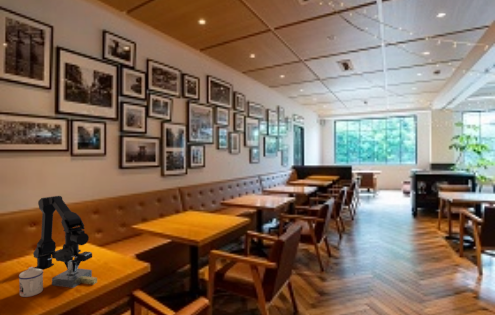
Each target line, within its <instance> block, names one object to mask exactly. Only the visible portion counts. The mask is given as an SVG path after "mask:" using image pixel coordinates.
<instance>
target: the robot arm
mask: <svg viewBox="0 0 495 315" xmlns="http://www.w3.org/2000/svg"><path fill="white" fill-rule="evenodd" d="M37 204H38V209H39V210H40V212H41V213H42V214H41V215H42V217H41V232H40V233H41V236H40V239H39V240H38V242H37V243H36V248H35V249H34V251H33V254H32V255H33V257H34V258H35V259H36V261H37V262H36V264H37V265H36V266H34V268H35V269H42V270H45V269H46V270H47V269H48V268H50V267H52V266H54V265H55V263H53V260H54V259H55V261H56V262H61V263H62V262H63V263H64V264H65V267H66V270H68V262H69V261H71V260H72V261H71V262H72V263H73V271H74V273H75V272H76V271H77V269H79V267H80V264H81V263H82V262H86V261H88V260H89V259H90V260H91V258H93V253H92V252H91V251H83V252H82V249H80V246H84V245H86V244H87V243H88V242H89V240H90V239H89V238H90V236H89V235H88V234H87V233H85V223H84V221H83V220H82V218H81V217H80V216H79V214H78V213H77V212H73V211H72V210H71V208H69V206H68V205H67V204H66V202H65V201H64V200H63V196H61V195H54V196H46V197H41V198H40V199H39V200H38V203H37ZM55 212H56V213H58V215H59V216H60V218H61V222H60V223H61V226H62V227H63V232H64V241H65V242H64V243H63V245H62V247H61V248H59V249H58V250H56V249H57V248H56V247H57V245H56V244H57V243H56V242H55V240H54V239H53V223H54V222H53V221H54V213H55Z"/></svg>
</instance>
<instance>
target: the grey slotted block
mask: <svg viewBox="0 0 495 315" xmlns="http://www.w3.org/2000/svg"><path fill="white" fill-rule="evenodd" d="M92 272H93V270H92V269H86V268H78V269H77V274H76V275H74V276H68V269H66V270H65V271H62V272H61V273H58V274H57V275H55V276H53V277H52V278H51V285H52V286H56V287H65V288H71V289H74V288H76V287H77V286H79V285H80V284H85V285H95V284H97V283H98V277H96V276H95V277H94V276H92V274H93V273H92Z"/></svg>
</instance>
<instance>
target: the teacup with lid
mask: <svg viewBox="0 0 495 315" xmlns="http://www.w3.org/2000/svg"><path fill="white" fill-rule="evenodd" d="M18 279H19V281H18V282H19V285H18V286H19V290H18V291H19V296H20V297H23V298H28V297H33V296H36V295H38V294H40V293H42V292H43V290H44V269H38V268H35V266H29V267H28V268H27V269H26V270H24V271H22V272H20V273H19V275H18Z"/></svg>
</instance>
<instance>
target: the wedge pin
mask: <svg viewBox="0 0 495 315" xmlns="http://www.w3.org/2000/svg"><path fill="white" fill-rule="evenodd" d="M71 261H72V260H71ZM71 261H69V262H68V269H67V270H68V276H74V275H76V274H77V271H76V272H75V273H74V271H73V263H72V262H71Z"/></svg>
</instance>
